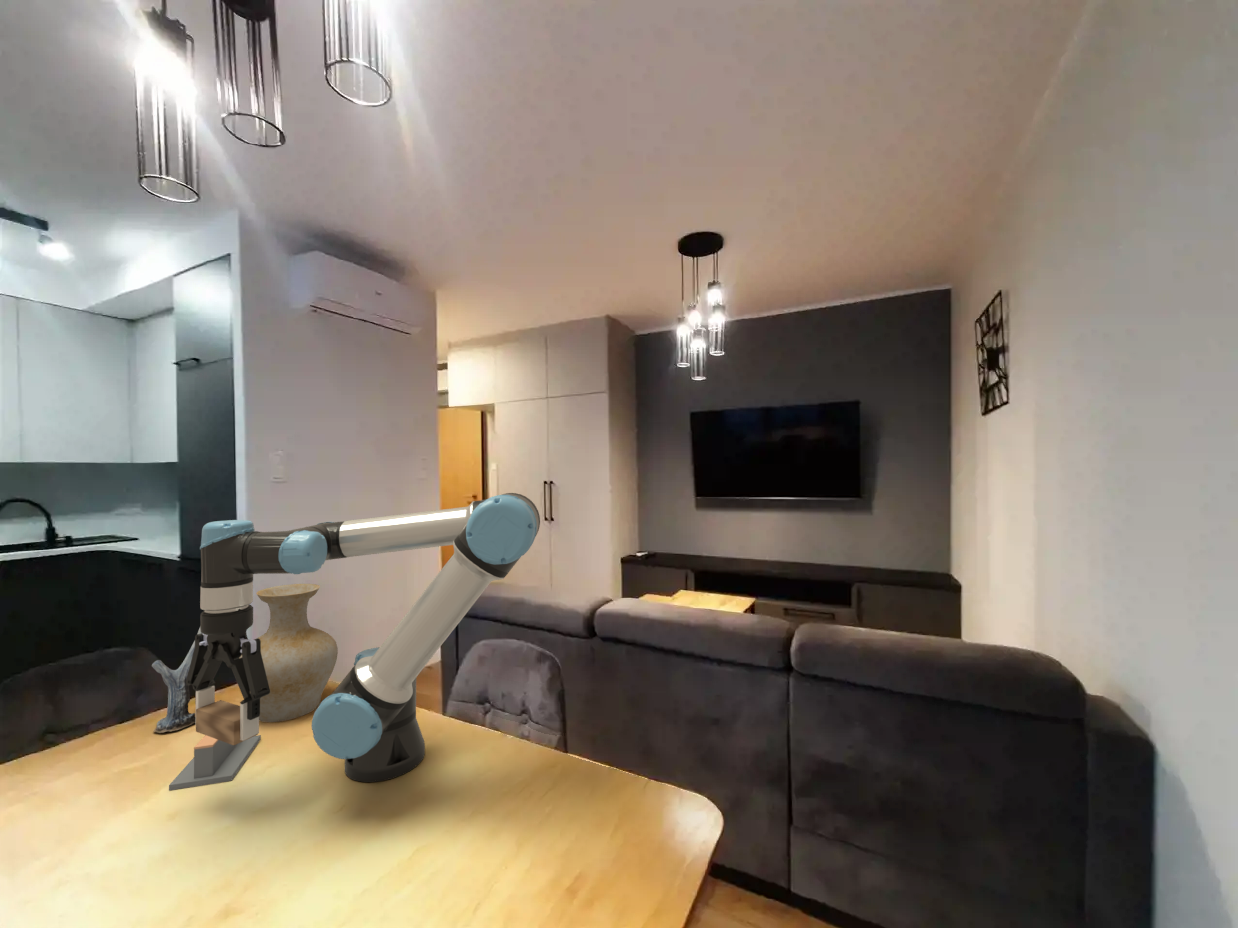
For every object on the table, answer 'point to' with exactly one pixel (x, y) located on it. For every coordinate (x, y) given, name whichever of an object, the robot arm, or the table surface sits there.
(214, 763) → the ridge block
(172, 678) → the antler
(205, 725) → the walnut bar
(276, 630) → the vase
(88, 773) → the table surface
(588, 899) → the table surface
